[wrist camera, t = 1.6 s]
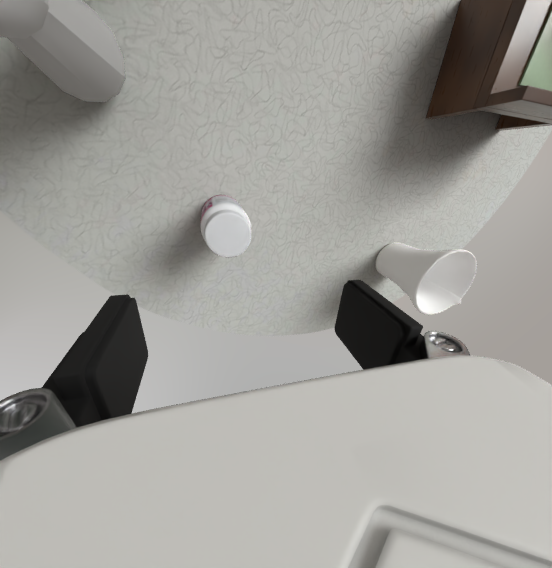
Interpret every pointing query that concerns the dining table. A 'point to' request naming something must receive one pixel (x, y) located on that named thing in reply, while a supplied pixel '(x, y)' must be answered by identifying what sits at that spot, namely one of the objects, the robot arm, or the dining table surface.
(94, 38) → the salt shaker
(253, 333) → the dining table surface
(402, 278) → the cup
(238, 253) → the pill bottle
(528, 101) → the shelf
